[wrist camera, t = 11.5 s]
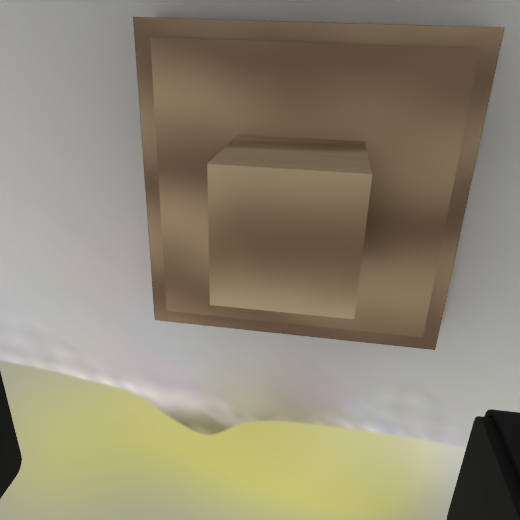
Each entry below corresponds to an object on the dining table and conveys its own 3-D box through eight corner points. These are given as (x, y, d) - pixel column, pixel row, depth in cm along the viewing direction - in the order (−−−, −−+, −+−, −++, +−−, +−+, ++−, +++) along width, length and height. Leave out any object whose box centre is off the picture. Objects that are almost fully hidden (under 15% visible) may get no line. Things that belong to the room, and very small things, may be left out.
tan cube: (237, 134, 23) (207, 163, 18) (364, 141, 23) (372, 174, 17) (236, 249, 26) (209, 304, 21) (351, 258, 25) (354, 319, 20)
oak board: (152, 19, 24) (131, 16, 22) (487, 28, 22) (505, 27, 20) (168, 299, 31) (153, 321, 29) (427, 325, 29) (435, 351, 27)
